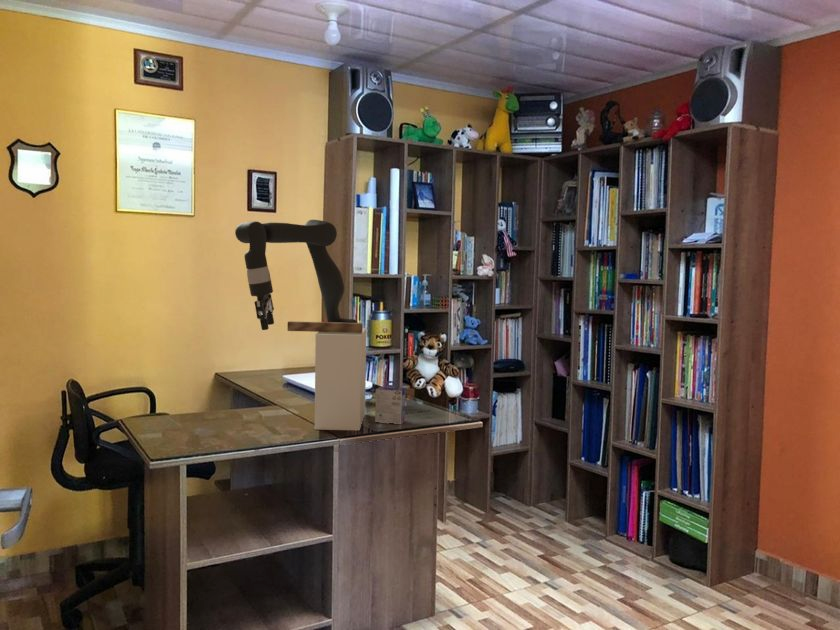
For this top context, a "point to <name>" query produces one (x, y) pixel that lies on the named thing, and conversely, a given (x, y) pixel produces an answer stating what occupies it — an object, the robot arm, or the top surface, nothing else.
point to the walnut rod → (325, 327)
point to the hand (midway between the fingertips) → (268, 326)
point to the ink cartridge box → (390, 404)
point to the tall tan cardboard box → (340, 380)
